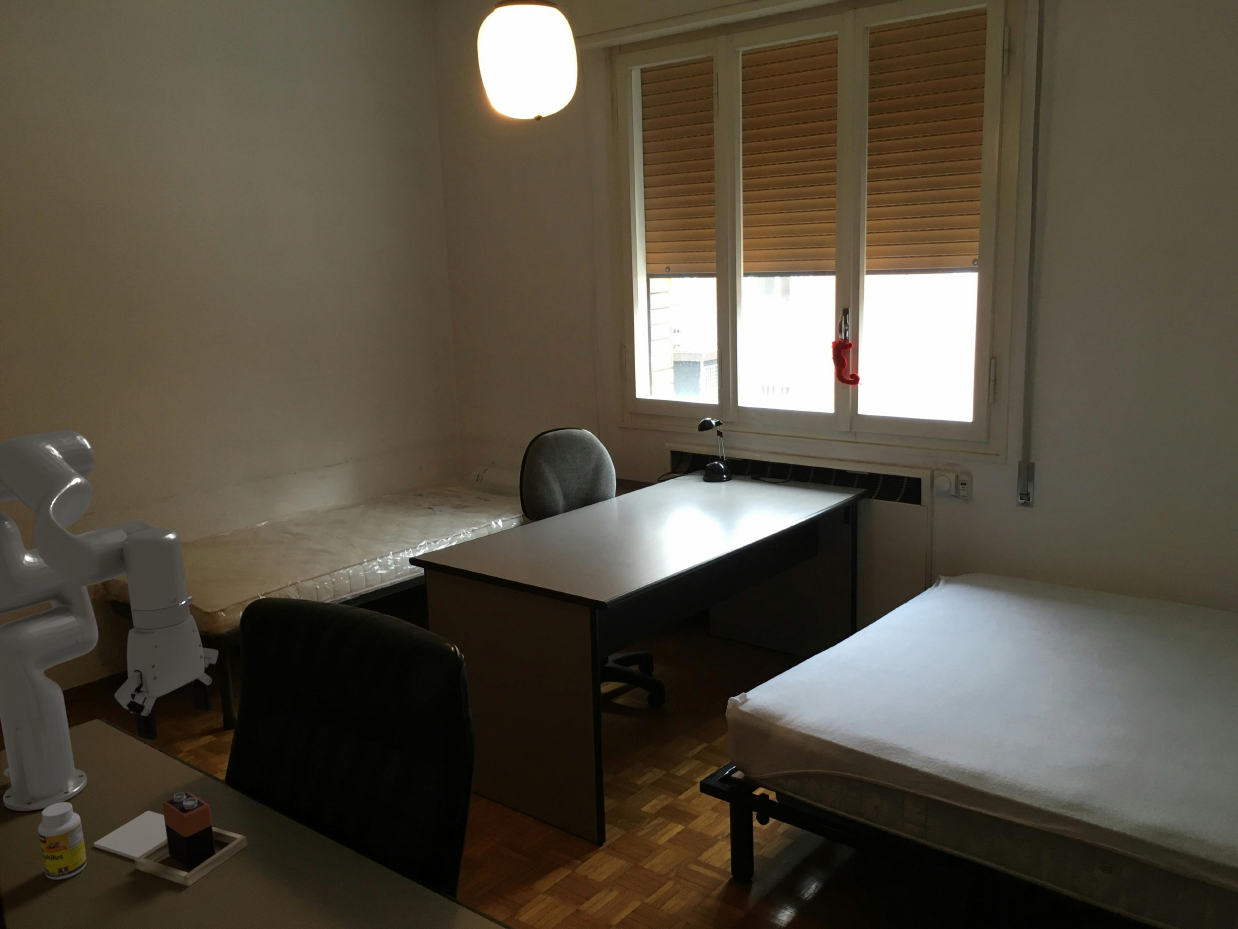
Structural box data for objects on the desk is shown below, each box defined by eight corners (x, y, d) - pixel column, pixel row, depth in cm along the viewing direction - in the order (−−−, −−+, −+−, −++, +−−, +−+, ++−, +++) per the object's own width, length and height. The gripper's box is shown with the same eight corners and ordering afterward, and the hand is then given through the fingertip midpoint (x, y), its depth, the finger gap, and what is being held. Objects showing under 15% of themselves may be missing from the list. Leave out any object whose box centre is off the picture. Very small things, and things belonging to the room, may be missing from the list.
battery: (189, 872, 144) (181, 811, 142) (168, 856, 149) (159, 796, 147) (217, 858, 148) (209, 798, 146) (195, 842, 152) (187, 784, 150)
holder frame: (136, 869, 145) (134, 860, 145) (195, 830, 155) (194, 821, 155) (189, 886, 141) (187, 877, 140) (247, 845, 151) (246, 836, 150)
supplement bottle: (36, 878, 144) (25, 816, 142) (67, 857, 149) (57, 796, 147) (65, 884, 142) (55, 821, 140) (96, 862, 147) (86, 801, 145)
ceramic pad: (94, 846, 152) (93, 843, 152) (148, 813, 160) (148, 810, 160) (138, 861, 147) (137, 857, 147) (191, 826, 156) (191, 823, 156)
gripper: (191, 593, 150) (204, 696, 153) (89, 631, 134) (106, 745, 138) (226, 598, 146) (239, 703, 150) (127, 638, 131) (143, 754, 134)
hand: (175, 723), depth 144 cm, fingers open, 9 cm apart
